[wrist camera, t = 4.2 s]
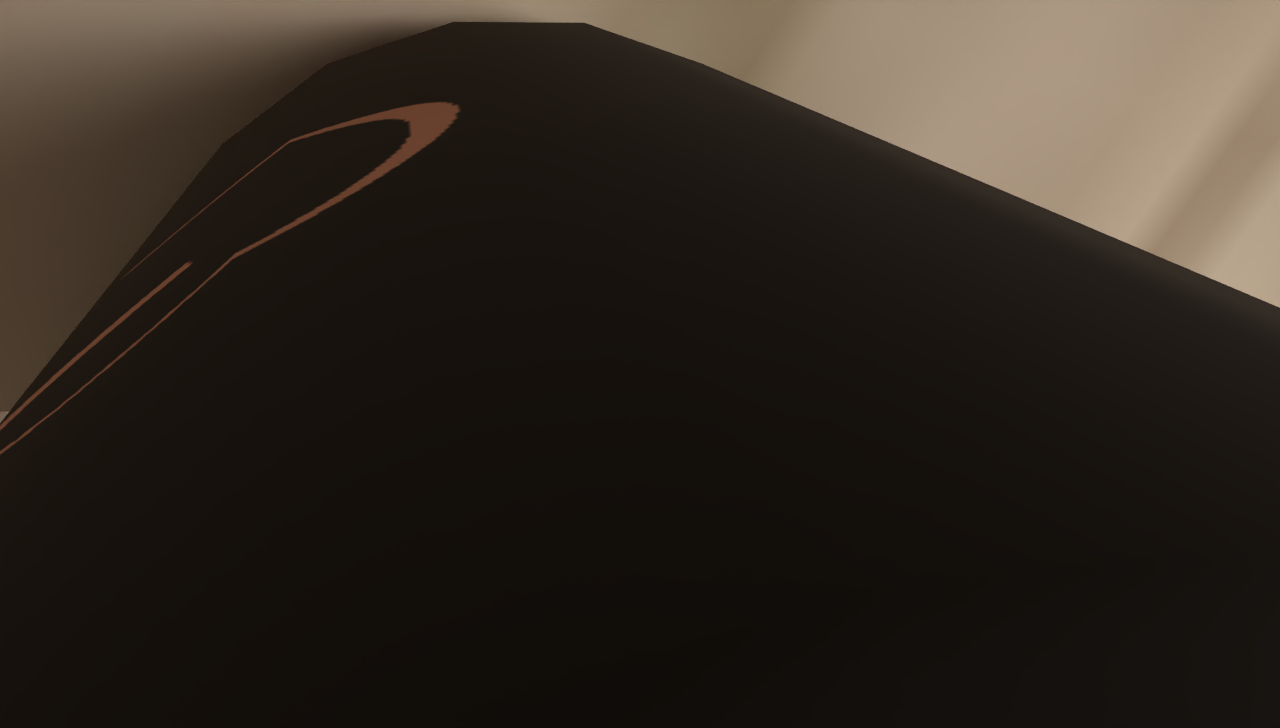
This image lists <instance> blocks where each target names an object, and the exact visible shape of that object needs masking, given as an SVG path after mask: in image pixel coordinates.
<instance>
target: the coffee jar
mask: <svg viewBox="0 0 1280 728" xmlns="http://www.w3.org/2000/svg"><path fill="white" fill-rule="evenodd" d="M0 728H1280V308H1279V307H1277V306H1274V305H1272V304H1269V303H1267V302H1265V301H1262V300H1260V299H1258V298H1255V297H1253V296H1250V295H1248V294H1246V293H1243V292H1241V291H1239V290H1236V289H1234V288H1232V287H1229V286H1227V285H1224V284H1222V283H1220V282H1217V281H1215V280H1213V279H1210V278H1208V277H1205V276H1203V275H1201V274H1198V273H1196V272H1194V271H1191V270H1189V269H1187V268H1184V267H1182V266H1179V265H1177V264H1175V263H1172V262H1170V261H1168V260H1165V259H1163V258H1161V257H1158V256H1156V255H1153V254H1151V253H1149V252H1146V251H1144V250H1142V249H1139V248H1137V247H1134V246H1132V245H1130V244H1127V243H1125V242H1123V241H1120V240H1118V239H1116V238H1113V237H1111V236H1108V235H1106V234H1104V233H1101V232H1099V231H1097V230H1094V229H1092V228H1089V227H1087V226H1085V225H1082V224H1080V223H1078V222H1075V221H1073V220H1071V219H1068V218H1066V217H1063V216H1061V215H1059V214H1056V213H1054V212H1052V211H1049V210H1047V209H1045V208H1042V207H1040V206H1037V205H1035V204H1033V203H1030V202H1028V201H1026V200H1023V199H1021V198H1018V197H1016V196H1014V195H1011V194H1009V193H1007V192H1004V191H1002V190H1000V189H997V188H995V187H992V186H990V185H988V184H985V183H983V182H981V181H978V180H976V179H973V178H971V177H969V176H966V175H964V174H962V173H959V172H957V171H955V170H952V169H950V168H947V167H945V166H943V165H940V164H938V163H936V162H933V161H931V160H928V159H926V158H924V157H921V156H919V155H917V154H914V153H912V152H910V151H907V150H905V149H902V148H900V147H898V146H895V145H893V144H891V143H888V142H886V141H884V140H881V139H879V138H876V137H874V136H872V135H869V134H867V133H865V132H862V131H860V130H857V129H855V128H853V127H850V126H848V125H846V124H843V123H841V122H839V121H836V120H834V119H831V118H829V117H827V116H824V115H822V114H820V113H817V112H815V111H812V110H810V109H808V108H805V107H803V106H801V105H798V104H796V103H794V102H791V101H789V100H786V99H784V98H782V97H779V96H777V95H775V94H772V93H770V92H768V91H765V90H763V89H760V88H758V87H756V86H753V85H751V84H749V83H746V82H744V81H741V80H739V79H737V78H734V77H732V76H730V75H727V74H725V73H723V72H720V71H718V70H715V69H713V68H711V67H708V66H706V65H704V64H701V63H698V62H695V61H693V60H690V59H687V58H684V57H681V56H678V55H675V54H672V53H669V52H667V51H664V50H661V49H658V48H655V47H652V46H649V45H646V44H644V43H641V42H638V41H635V40H632V39H629V38H626V37H623V36H620V35H618V34H615V33H612V32H609V31H606V30H603V29H600V28H597V27H594V26H592V25H589V24H586V23H525V22H452V23H449V24H446V25H443V26H440V27H437V28H434V29H431V30H428V31H425V32H422V33H419V34H416V35H413V36H410V37H407V38H404V39H401V40H398V41H395V42H392V43H389V44H386V45H383V46H380V47H377V48H374V49H371V50H368V51H365V52H362V53H359V54H356V55H353V56H350V57H347V58H344V59H341V60H338V61H335V62H332V63H329V64H327V65H325V66H324V67H323V68H321V69H320V70H319V71H318V72H316V73H315V74H314V75H312V76H311V77H310V78H308V79H307V80H306V81H304V82H303V83H302V84H301V85H299V86H298V87H297V88H295V89H294V90H293V91H291V92H290V93H289V94H287V95H286V96H285V97H284V98H282V99H281V100H280V101H278V102H277V103H276V104H274V105H273V106H272V107H270V108H269V109H268V110H267V111H265V112H264V113H263V114H261V115H260V116H259V117H257V118H256V119H255V120H253V121H252V122H251V123H249V124H248V125H247V126H246V127H244V128H243V129H242V130H240V131H239V132H238V133H236V134H235V135H234V136H232V137H231V138H230V139H229V140H227V141H226V142H225V143H223V144H222V145H221V147H220V148H219V149H218V150H217V152H216V153H215V154H214V156H213V157H212V158H211V159H210V161H209V162H208V163H207V164H206V166H205V167H204V168H203V169H202V171H201V172H200V173H199V174H198V176H197V177H196V178H195V179H194V181H193V182H192V183H191V184H190V186H189V187H188V188H187V189H186V191H185V192H184V193H183V194H182V196H181V197H180V198H179V199H178V201H177V202H176V203H175V204H174V206H173V207H172V208H171V209H170V211H169V212H168V213H167V214H166V216H165V217H164V218H163V219H162V221H161V222H160V223H159V224H158V226H157V227H156V228H155V230H154V231H153V232H152V233H151V235H150V236H149V237H148V238H147V240H146V241H145V242H144V243H143V245H142V246H141V247H140V248H139V250H138V251H137V252H136V253H135V255H134V256H133V257H132V258H131V260H130V261H129V262H128V263H127V265H126V266H125V267H124V268H123V270H122V271H121V272H120V273H119V275H118V276H117V277H116V278H115V280H114V281H113V282H112V283H111V285H110V286H109V287H108V288H107V290H106V291H105V292H104V293H103V295H102V296H101V297H100V298H99V300H98V301H97V302H96V304H95V305H94V306H93V307H92V309H91V310H90V311H89V312H88V314H87V315H86V316H85V317H84V319H83V320H82V321H81V322H80V324H79V325H78V326H77V327H76V329H75V330H74V331H73V332H72V334H71V335H70V336H69V337H68V339H67V340H66V341H65V342H64V344H63V345H62V346H61V347H60V349H59V350H58V351H57V352H56V354H55V355H54V356H53V357H52V359H51V360H50V361H49V362H48V364H47V365H46V366H45V367H44V369H43V370H42V371H41V372H40V374H39V375H38V376H37V378H36V379H35V380H34V381H33V383H32V384H31V385H30V386H29V388H28V389H27V390H26V391H25V393H24V394H23V395H22V396H21V398H20V399H19V400H18V401H17V403H16V404H15V405H14V406H13V408H12V409H11V410H10V411H9V413H8V414H7V415H6V416H5V418H4V419H3V420H2V421H1V423H0Z"/></svg>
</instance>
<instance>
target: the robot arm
mask: <svg viewBox="0 0 1280 728" xmlns="http://www.w3.org/2000/svg"><path fill="white" fill-rule="evenodd" d="M8 413H9V411H3V412H0V423H1V421H2V420H3V419H4V418H5V416H6V415H7V414H8Z"/></svg>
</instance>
